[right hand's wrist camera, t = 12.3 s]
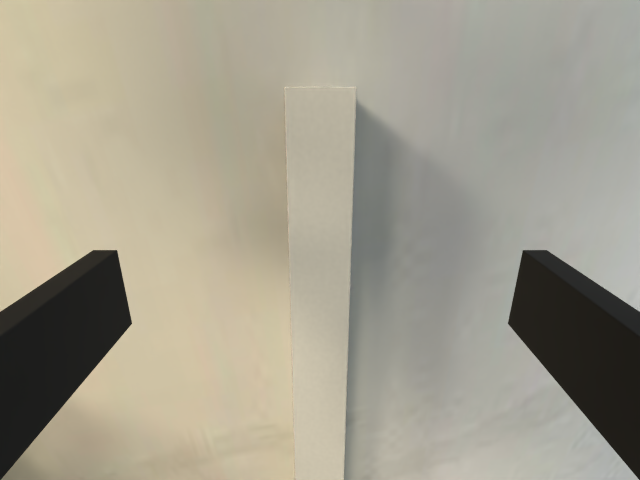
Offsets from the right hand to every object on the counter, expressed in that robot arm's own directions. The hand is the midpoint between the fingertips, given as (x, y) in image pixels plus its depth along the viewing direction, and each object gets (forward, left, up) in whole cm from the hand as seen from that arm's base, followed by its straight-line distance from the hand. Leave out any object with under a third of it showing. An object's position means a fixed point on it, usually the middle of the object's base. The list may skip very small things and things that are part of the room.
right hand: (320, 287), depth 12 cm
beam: (+16, -18, -21) cm, 33 cm away
